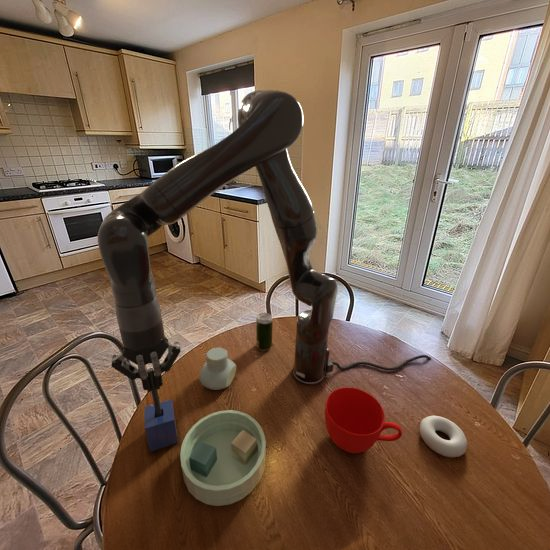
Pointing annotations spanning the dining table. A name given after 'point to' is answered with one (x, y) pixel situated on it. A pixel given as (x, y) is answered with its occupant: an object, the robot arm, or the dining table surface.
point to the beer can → (264, 331)
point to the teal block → (203, 458)
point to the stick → (154, 392)
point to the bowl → (223, 458)
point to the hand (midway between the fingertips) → (153, 387)
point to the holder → (160, 426)
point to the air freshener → (217, 370)
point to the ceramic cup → (356, 420)
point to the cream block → (244, 447)
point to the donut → (439, 445)
